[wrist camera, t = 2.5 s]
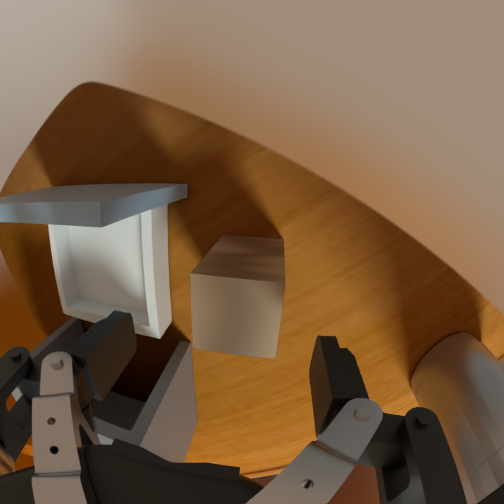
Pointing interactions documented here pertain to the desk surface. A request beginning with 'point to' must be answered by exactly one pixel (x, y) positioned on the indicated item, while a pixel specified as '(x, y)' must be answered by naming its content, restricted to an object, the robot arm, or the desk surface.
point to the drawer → (106, 247)
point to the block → (239, 296)
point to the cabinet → (138, 412)
